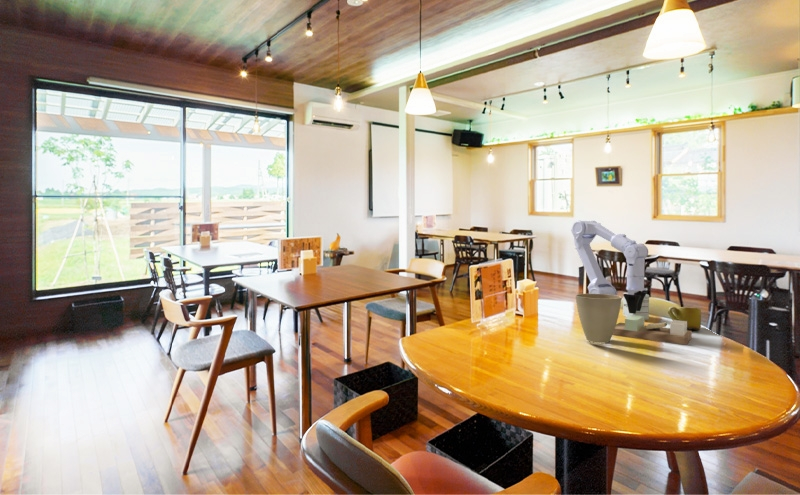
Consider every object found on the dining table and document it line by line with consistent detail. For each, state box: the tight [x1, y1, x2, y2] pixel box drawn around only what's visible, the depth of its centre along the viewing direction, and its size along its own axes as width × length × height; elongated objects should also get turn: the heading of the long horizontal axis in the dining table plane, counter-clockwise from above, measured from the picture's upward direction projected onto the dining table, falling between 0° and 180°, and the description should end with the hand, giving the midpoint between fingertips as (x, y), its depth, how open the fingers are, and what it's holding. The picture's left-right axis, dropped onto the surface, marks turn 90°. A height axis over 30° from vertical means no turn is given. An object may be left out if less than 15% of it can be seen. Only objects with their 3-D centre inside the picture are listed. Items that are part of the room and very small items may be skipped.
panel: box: [612, 322, 693, 346], centre depth 160 cm, size 24×14×4 cm, turn 50°
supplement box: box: [622, 292, 650, 321], centre depth 185 cm, size 7×7×13 cm
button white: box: [669, 320, 688, 336], centre depth 153 cm, size 4×8×4 cm, turn 140°
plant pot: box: [575, 293, 623, 344], centre depth 152 cm, size 15×15×16 cm
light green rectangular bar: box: [624, 315, 645, 331], centre depth 162 cm, size 4×12×4 cm, turn 140°
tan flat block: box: [645, 321, 668, 329], centre depth 158 cm, size 6×5×1 cm
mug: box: [667, 306, 702, 331], centre depth 169 cm, size 12×10×10 cm
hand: (634, 312), depth 162 cm, fingers open, 7 cm apart
